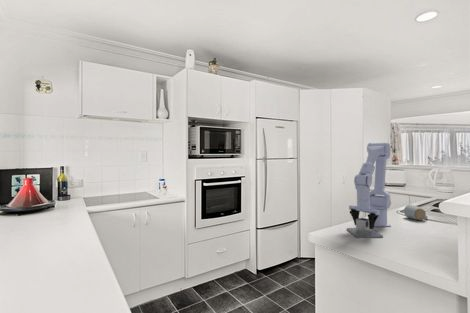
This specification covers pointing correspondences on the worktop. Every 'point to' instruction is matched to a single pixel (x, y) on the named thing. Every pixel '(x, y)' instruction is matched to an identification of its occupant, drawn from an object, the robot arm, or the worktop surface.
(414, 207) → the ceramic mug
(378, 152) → the robot arm
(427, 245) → the worktop surface
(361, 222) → the sleeve
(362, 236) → the duct flange
